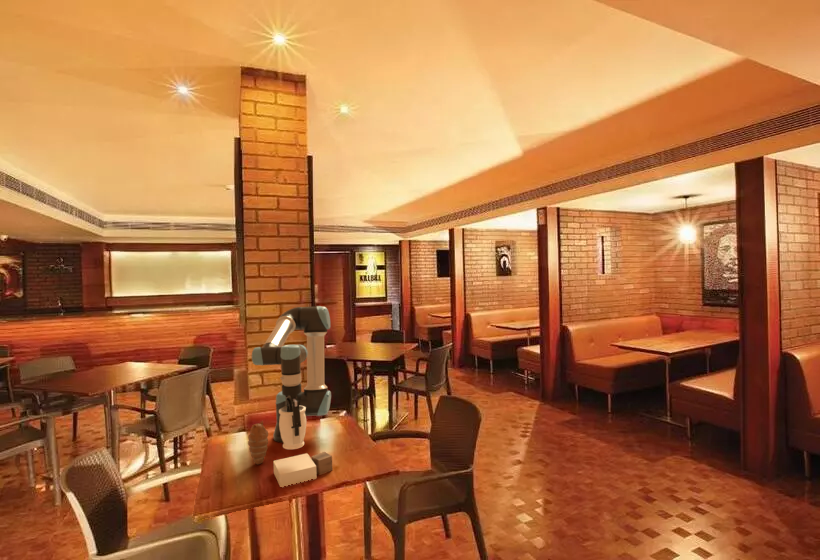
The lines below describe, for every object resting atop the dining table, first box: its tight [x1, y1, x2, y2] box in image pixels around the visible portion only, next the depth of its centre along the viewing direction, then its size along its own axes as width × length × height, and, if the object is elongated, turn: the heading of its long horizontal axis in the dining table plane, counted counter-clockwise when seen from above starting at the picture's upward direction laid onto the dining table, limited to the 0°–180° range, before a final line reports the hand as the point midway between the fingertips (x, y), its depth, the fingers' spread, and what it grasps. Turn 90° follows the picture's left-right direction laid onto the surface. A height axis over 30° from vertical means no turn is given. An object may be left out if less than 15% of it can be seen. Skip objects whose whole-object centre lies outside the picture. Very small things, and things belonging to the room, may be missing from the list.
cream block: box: [273, 452, 318, 488], centre depth 174 cm, size 14×14×5 cm
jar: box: [279, 405, 307, 450], centre depth 174 cm, size 11×10×15 cm
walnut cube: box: [311, 451, 333, 476], centre depth 178 cm, size 6×6×6 cm
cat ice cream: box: [247, 420, 269, 465], centre depth 186 cm, size 9×8×18 cm
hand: (293, 438), depth 174 cm, fingers closed on jar, 10 cm apart
